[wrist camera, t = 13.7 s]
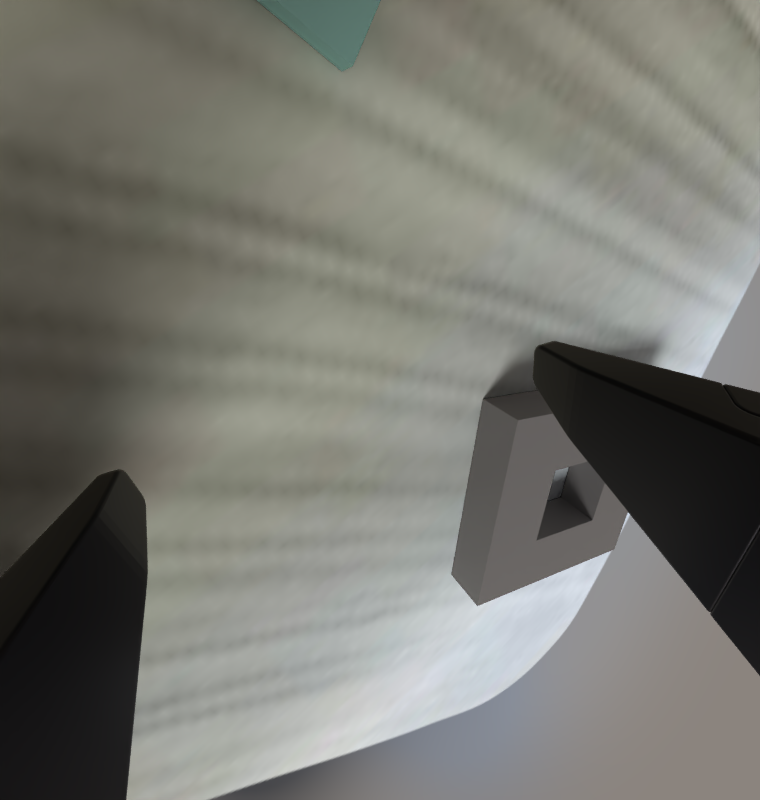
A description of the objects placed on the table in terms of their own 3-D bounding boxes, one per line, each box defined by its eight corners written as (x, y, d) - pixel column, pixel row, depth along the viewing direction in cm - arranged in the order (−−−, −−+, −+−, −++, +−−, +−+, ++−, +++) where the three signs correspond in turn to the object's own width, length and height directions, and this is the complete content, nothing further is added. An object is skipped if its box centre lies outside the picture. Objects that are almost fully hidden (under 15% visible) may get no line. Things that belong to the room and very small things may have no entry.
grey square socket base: (451, 574, 33) (477, 606, 30) (483, 399, 27) (518, 420, 25) (583, 526, 39) (614, 549, 37) (632, 375, 33) (672, 390, 31)
